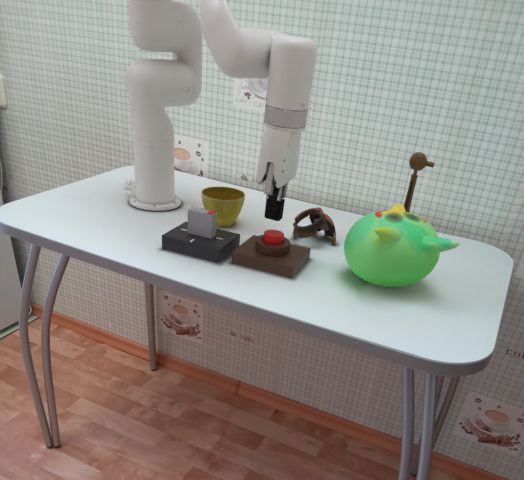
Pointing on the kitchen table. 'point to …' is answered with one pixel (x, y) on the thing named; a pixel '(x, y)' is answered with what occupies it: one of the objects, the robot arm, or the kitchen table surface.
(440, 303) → the kitchen table surface
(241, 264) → the button block
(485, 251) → the kitchen table surface
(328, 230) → the brown openwork arch
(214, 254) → the panel
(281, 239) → the power button
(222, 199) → the flower pot
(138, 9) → the robot arm
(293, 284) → the kitchen table surface
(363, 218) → the toy bird
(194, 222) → the grey upright block
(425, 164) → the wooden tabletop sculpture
